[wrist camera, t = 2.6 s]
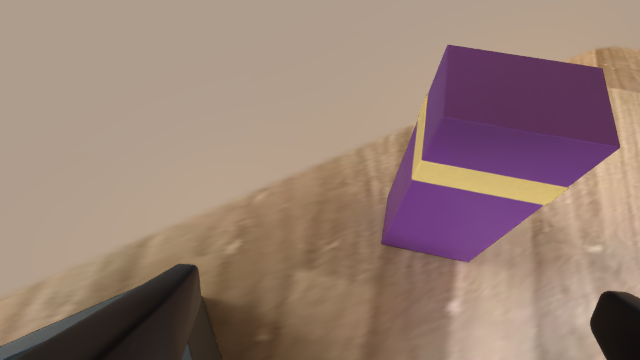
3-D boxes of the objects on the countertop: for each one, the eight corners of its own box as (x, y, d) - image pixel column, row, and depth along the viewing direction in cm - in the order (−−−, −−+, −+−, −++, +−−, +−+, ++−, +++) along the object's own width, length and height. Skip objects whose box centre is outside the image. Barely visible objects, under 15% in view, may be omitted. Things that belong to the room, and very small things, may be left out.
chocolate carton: (469, 263, 23) (623, 149, 11) (380, 244, 23) (440, 117, 12) (470, 211, 24) (604, 66, 13) (387, 195, 25) (446, 42, 13)
